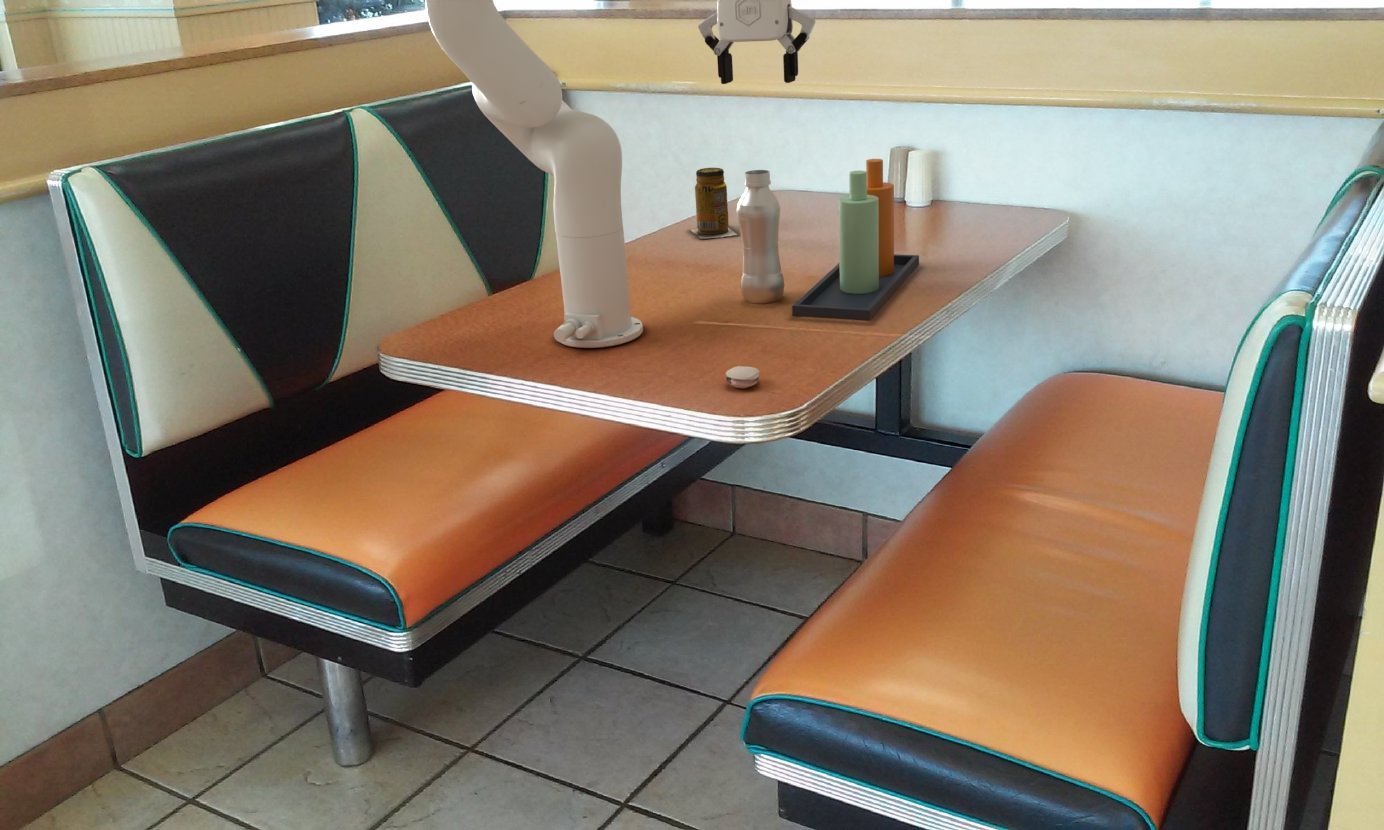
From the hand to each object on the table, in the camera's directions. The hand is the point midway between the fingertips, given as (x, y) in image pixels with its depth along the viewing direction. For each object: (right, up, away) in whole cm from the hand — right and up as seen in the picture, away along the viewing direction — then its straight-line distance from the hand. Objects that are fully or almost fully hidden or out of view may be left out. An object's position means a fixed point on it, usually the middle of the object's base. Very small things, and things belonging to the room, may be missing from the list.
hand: (758, 82), depth 169 cm
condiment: (-5, -13, +55) cm, 57 cm away
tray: (+16, -29, +13) cm, 36 cm away
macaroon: (-3, -44, -21) cm, 49 cm away
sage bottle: (+16, -28, +13) cm, 35 cm away
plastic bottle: (+1, -31, +11) cm, 33 cm away
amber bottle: (+20, -25, +21) cm, 38 cm away
